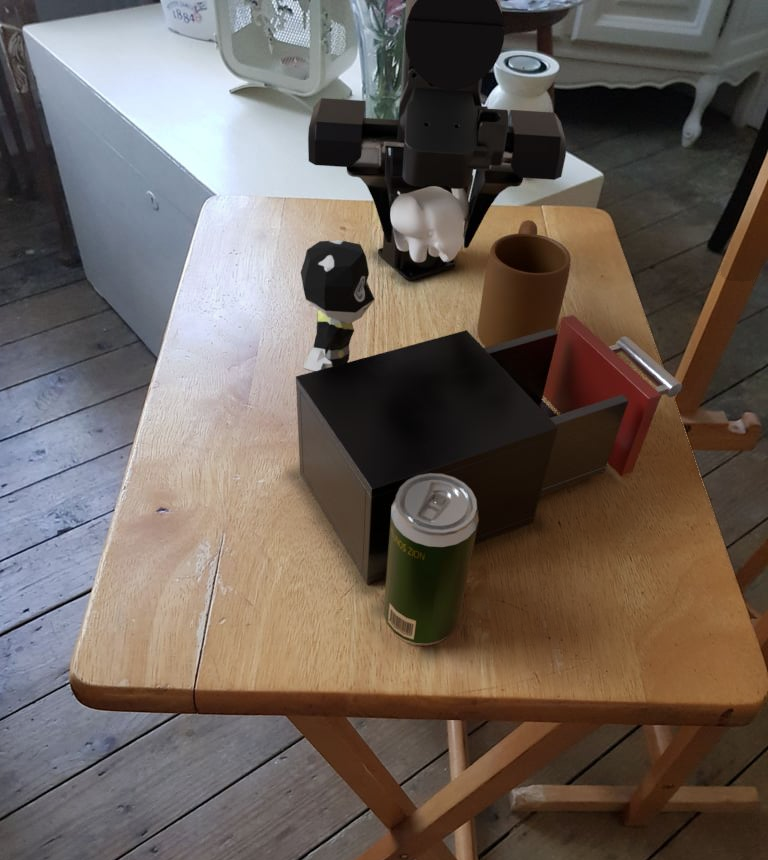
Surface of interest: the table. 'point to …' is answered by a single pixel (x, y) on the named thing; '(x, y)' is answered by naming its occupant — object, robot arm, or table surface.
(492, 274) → the mug
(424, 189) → the elephant figurine
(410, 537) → the beer can
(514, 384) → the cabinet
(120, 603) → the table surface
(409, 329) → the table surface
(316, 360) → the toy
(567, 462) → the drawer
